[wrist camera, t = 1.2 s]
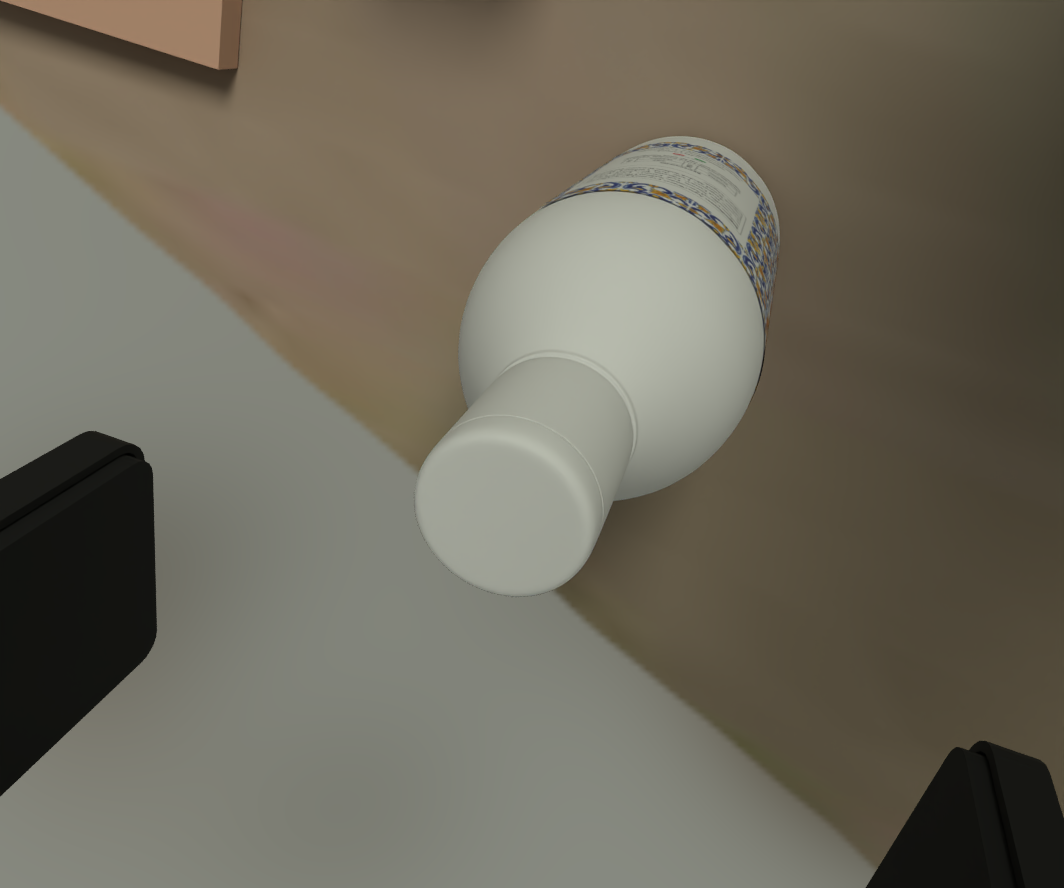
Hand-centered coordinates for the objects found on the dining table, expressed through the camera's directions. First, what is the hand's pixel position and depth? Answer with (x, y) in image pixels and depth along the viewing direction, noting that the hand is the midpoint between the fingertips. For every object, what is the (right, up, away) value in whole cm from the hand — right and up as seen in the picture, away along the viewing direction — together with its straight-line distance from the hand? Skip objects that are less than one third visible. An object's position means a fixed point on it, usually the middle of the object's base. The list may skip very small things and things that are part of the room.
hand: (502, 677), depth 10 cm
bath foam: (+6, +10, +21) cm, 24 cm away
